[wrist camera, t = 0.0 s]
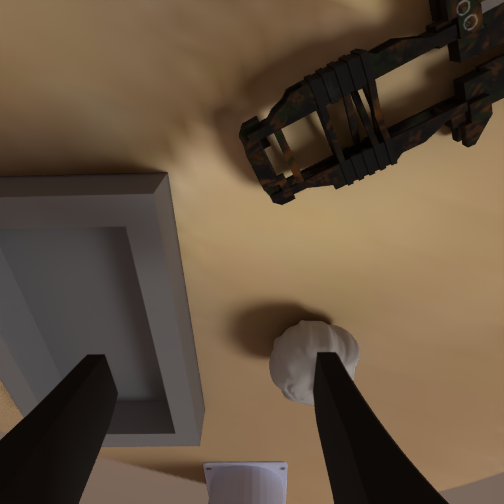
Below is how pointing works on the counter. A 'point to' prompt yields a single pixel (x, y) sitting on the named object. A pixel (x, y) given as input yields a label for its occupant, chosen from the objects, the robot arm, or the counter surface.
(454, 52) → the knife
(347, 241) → the counter surface
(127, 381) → the tray
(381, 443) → the robot arm
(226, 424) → the counter surface
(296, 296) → the counter surface
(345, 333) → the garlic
